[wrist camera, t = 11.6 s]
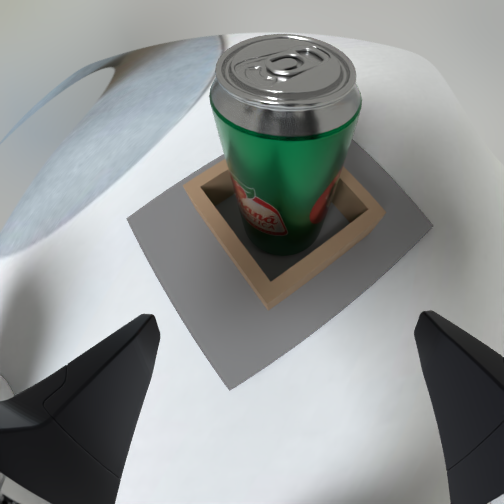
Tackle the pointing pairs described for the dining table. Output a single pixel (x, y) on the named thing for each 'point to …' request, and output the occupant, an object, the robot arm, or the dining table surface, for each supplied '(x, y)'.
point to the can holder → (270, 261)
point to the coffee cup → (5, 390)
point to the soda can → (284, 133)
